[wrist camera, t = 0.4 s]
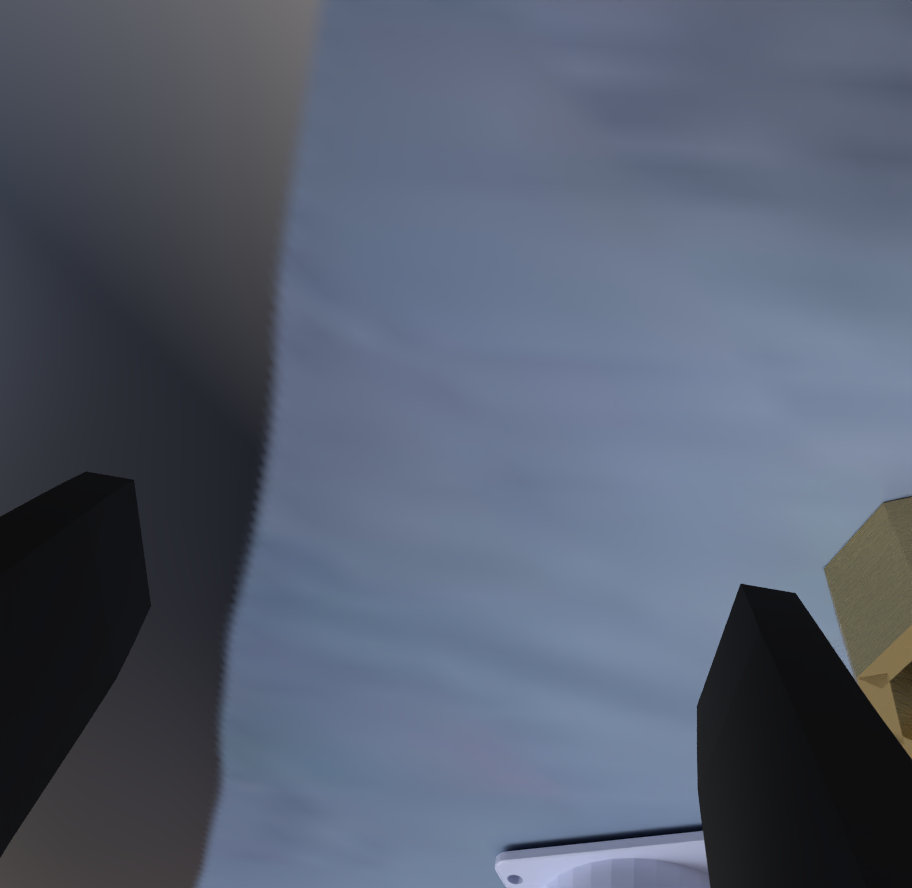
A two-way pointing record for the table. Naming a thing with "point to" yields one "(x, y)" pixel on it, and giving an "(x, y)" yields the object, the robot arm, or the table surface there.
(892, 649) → the collar
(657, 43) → the table surface
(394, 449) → the table surface
